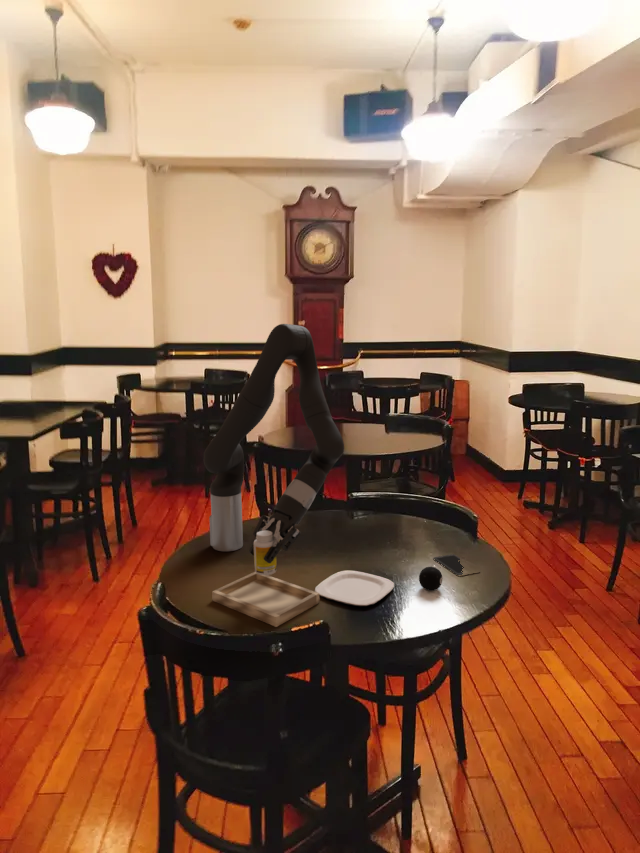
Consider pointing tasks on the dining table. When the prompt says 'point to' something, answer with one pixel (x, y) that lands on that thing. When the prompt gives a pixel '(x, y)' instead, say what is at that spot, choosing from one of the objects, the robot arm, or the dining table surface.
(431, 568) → the billiard ball
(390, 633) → the dining table surface
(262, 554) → the supplement bottle
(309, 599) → the serving tray
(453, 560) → the cell phone
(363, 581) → the plate
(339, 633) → the dining table surface
